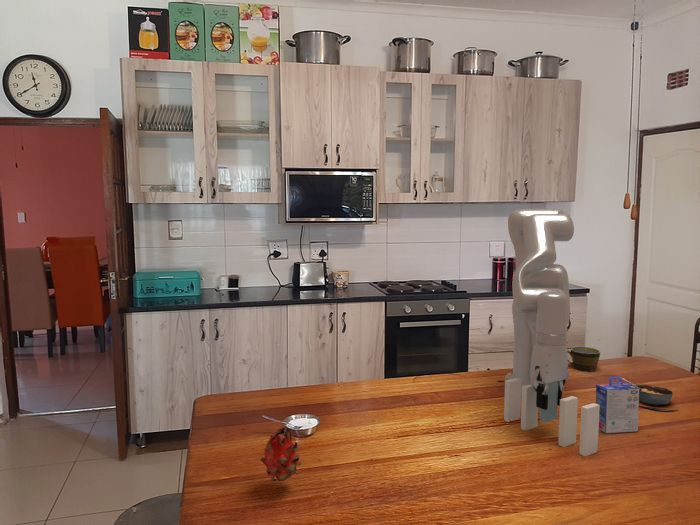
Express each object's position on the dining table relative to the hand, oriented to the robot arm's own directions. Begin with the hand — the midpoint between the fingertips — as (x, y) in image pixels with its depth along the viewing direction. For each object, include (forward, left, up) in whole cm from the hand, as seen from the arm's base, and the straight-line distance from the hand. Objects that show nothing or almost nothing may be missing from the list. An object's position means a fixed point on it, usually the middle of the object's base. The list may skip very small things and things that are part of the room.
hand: (548, 405), depth 136 cm
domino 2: (-6, 0, -8) cm, 10 cm away
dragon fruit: (-15, -71, -9) cm, 73 cm away
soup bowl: (+2, +47, -9) cm, 48 cm away
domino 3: (0, 0, -4) cm, 4 cm away
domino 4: (+6, 0, -8) cm, 10 cm away
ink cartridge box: (+7, +20, -9) cm, 23 cm away
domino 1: (-12, 0, -8) cm, 15 cm away
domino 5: (+12, 0, -8) cm, 14 cm away
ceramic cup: (-28, +55, -9) cm, 63 cm away
